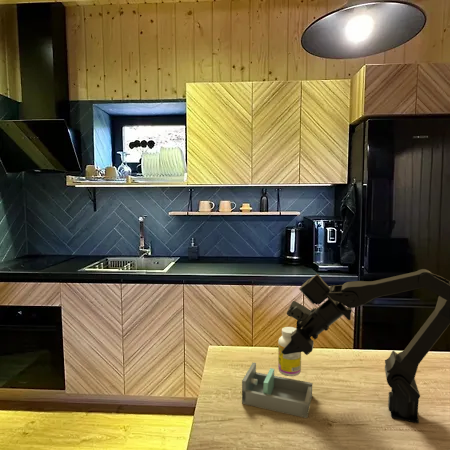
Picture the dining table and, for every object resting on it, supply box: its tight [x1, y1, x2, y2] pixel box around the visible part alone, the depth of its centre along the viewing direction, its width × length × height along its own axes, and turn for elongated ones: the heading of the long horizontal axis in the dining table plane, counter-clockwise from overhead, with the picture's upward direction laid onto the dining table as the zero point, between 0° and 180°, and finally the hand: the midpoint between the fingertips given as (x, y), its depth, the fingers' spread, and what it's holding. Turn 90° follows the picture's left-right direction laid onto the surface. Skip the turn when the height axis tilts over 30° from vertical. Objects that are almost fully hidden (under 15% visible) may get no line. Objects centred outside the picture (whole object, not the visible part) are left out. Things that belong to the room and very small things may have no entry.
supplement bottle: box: [277, 326, 302, 377], centre depth 104 cm, size 7×7×13 cm
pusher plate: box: [263, 367, 275, 395], centre depth 101 cm, size 1×8×6 cm, turn 159°
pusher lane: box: [241, 362, 313, 419], centre depth 101 cm, size 18×11×7 cm, turn 70°
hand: (285, 347), depth 104 cm, fingers closed on supplement bottle, 7 cm apart
